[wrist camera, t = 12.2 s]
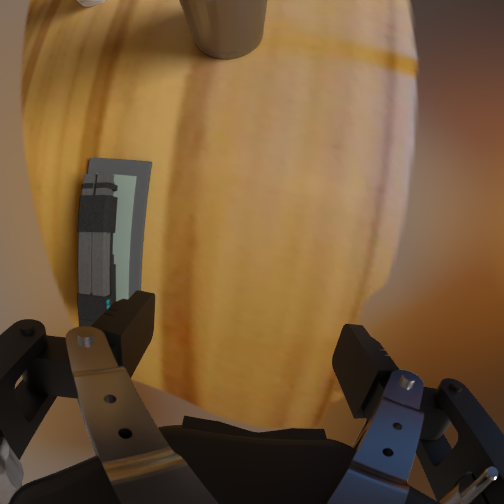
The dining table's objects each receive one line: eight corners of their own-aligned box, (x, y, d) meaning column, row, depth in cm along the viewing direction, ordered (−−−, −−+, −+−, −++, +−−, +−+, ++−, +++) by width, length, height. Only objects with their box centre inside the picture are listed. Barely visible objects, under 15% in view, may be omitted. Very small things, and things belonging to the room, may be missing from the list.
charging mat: (93, 158, 34) (89, 157, 32) (152, 162, 34) (149, 161, 33) (89, 323, 39) (86, 327, 38) (140, 336, 40) (137, 340, 39)
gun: (102, 327, 38) (67, 337, 28) (112, 195, 40) (81, 172, 30) (129, 331, 38) (98, 344, 28) (139, 194, 40) (112, 170, 30)
